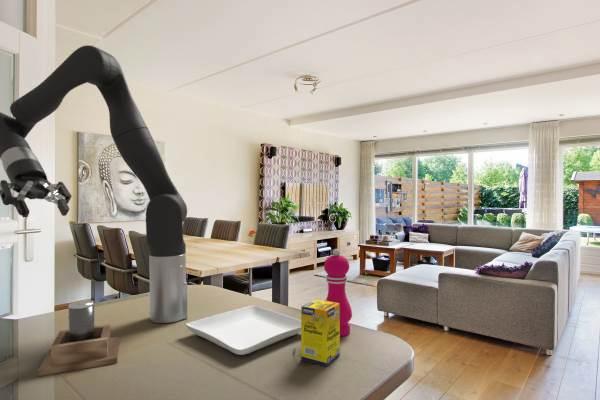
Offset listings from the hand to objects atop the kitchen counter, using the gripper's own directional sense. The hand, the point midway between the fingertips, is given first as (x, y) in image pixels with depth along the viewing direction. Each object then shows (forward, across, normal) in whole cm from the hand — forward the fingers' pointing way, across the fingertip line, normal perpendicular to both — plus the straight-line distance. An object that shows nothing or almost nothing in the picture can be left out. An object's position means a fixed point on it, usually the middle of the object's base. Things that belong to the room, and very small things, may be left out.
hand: (47, 214), depth 89 cm
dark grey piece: (+34, -3, +5) cm, 35 cm away
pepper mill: (+63, +35, -22) cm, 75 cm away
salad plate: (+51, +23, -10) cm, 57 cm away
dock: (+35, -3, +6) cm, 36 cm away
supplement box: (+65, +21, -24) cm, 73 cm away
